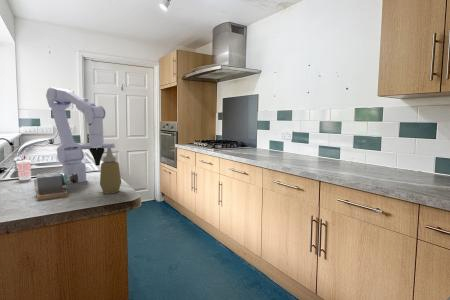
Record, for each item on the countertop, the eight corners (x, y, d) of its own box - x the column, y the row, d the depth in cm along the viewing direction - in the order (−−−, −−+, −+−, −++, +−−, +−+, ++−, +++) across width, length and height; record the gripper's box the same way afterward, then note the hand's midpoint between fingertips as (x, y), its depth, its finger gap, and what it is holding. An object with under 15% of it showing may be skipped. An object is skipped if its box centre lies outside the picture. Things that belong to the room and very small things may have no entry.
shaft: (76, 182, 117) (76, 171, 116) (78, 185, 113) (77, 173, 112) (34, 188, 108) (33, 175, 108) (34, 190, 104) (33, 177, 104)
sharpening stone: (61, 185, 121) (60, 169, 120) (68, 196, 104) (66, 178, 103) (35, 188, 115) (34, 172, 115) (37, 200, 98) (36, 181, 97)
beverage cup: (34, 177, 137) (32, 150, 136) (30, 179, 131) (28, 151, 130) (19, 178, 135) (17, 150, 134) (15, 180, 129) (12, 151, 128)
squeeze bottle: (100, 195, 105) (98, 149, 103) (99, 190, 112) (97, 147, 110) (122, 193, 108) (121, 148, 106) (120, 188, 115) (118, 146, 113)
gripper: (78, 135, 109) (80, 168, 111) (116, 134, 118) (117, 164, 119) (76, 134, 115) (77, 165, 116) (111, 133, 123) (113, 162, 125)
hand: (97, 165), depth 118 cm, fingers closed
